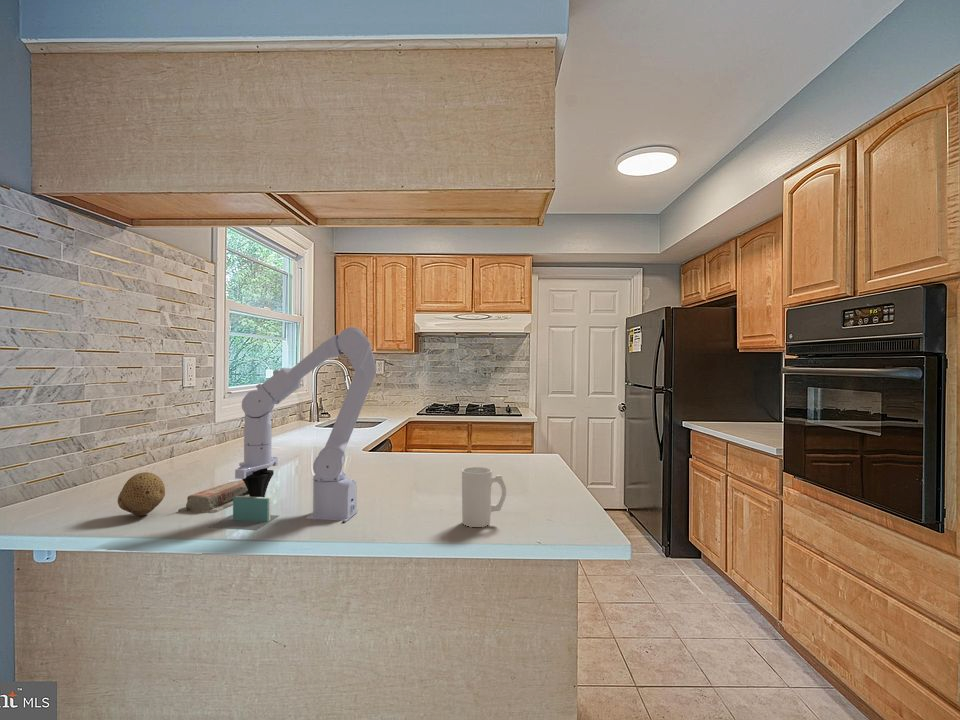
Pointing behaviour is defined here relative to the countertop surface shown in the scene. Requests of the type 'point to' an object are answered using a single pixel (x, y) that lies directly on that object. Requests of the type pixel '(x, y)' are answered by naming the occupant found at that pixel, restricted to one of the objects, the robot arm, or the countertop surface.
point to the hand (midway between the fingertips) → (257, 503)
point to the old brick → (216, 497)
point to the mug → (479, 496)
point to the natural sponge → (141, 494)
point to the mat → (240, 523)
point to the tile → (251, 508)
